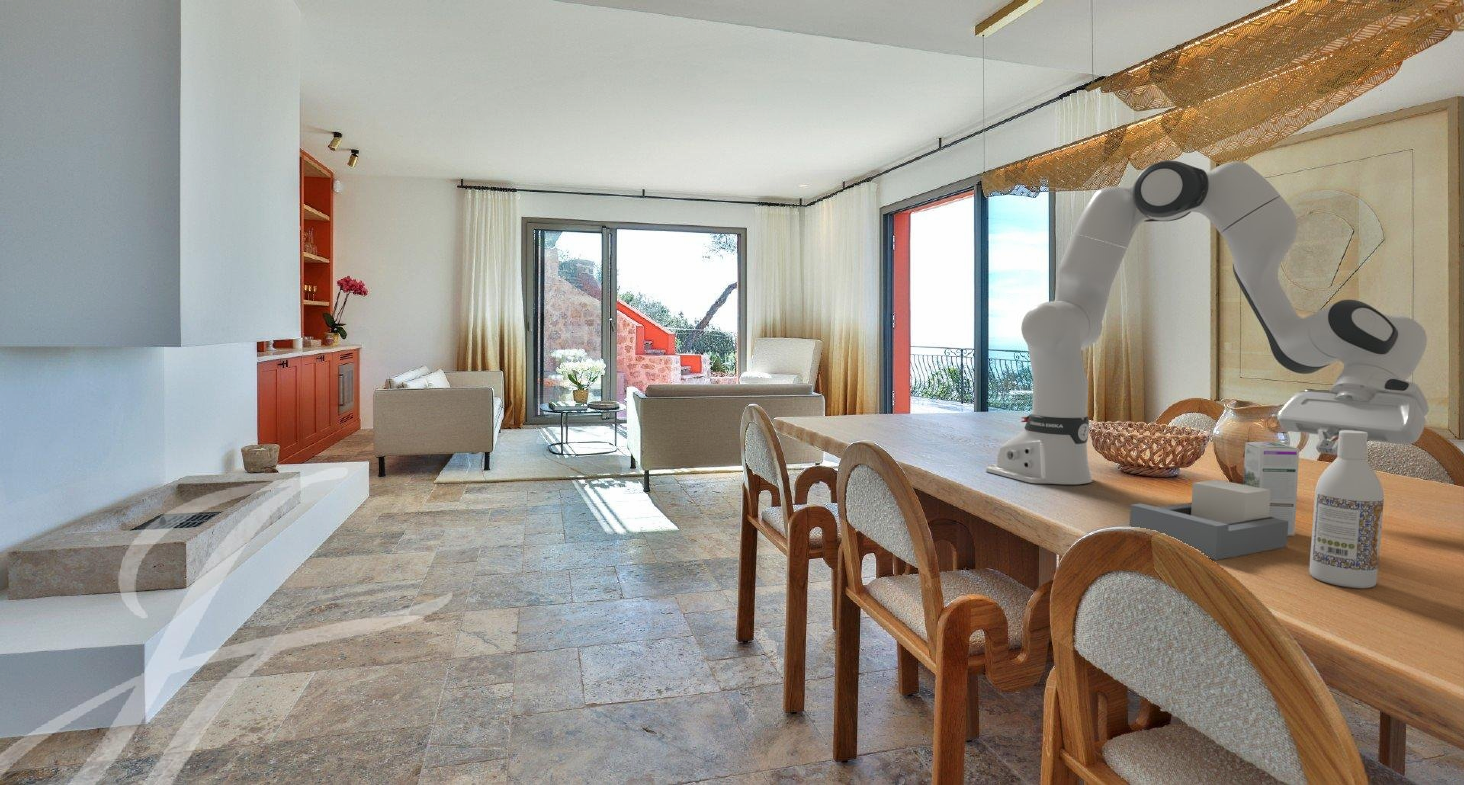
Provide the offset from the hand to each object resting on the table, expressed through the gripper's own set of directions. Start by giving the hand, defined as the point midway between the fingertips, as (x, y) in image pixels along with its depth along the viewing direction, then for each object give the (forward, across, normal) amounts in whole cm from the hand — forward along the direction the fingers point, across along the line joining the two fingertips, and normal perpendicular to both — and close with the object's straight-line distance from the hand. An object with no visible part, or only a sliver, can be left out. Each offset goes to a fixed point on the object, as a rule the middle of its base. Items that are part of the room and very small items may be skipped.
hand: (1326, 451), depth 127 cm
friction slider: (+26, 0, -9) cm, 28 cm away
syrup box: (+20, 0, -2) cm, 20 cm away
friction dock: (+30, 0, -13) cm, 33 cm away
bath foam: (+31, +19, -14) cm, 39 cm away
